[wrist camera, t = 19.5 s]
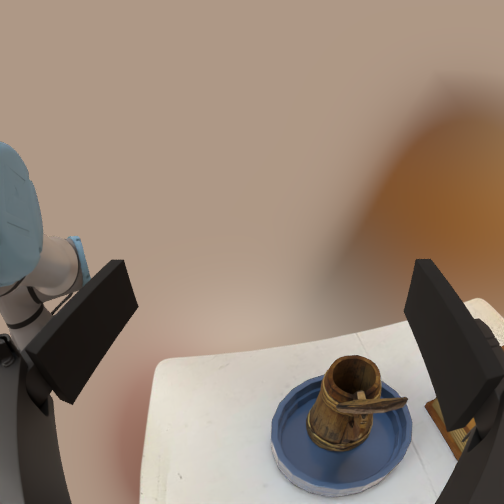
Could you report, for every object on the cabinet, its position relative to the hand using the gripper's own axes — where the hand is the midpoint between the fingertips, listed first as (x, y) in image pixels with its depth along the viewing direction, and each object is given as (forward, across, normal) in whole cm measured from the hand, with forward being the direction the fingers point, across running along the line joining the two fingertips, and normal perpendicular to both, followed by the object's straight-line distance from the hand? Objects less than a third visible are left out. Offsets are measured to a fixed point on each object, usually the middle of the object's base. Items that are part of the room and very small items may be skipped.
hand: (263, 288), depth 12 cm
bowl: (+7, +8, -29) cm, 31 cm away
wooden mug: (+7, +8, -29) cm, 31 cm away
